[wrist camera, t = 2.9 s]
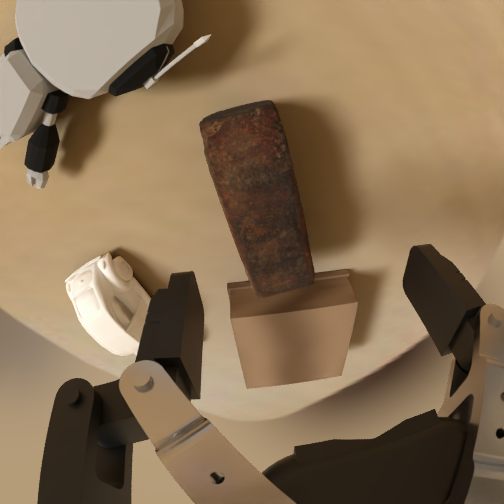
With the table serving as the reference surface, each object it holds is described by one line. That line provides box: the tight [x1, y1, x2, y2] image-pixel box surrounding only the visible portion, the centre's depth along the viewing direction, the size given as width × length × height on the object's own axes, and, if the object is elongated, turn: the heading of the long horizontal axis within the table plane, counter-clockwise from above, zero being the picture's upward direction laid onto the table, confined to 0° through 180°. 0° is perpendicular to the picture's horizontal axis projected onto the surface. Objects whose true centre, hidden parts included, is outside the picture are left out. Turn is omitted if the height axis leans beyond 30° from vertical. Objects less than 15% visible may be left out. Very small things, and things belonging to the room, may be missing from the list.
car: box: [65, 252, 151, 356], centre depth 22 cm, size 12×6×5 cm, turn 28°
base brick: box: [227, 269, 358, 389], centre depth 24 cm, size 9×10×4 cm
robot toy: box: [0, 0, 211, 189], centre depth 11 cm, size 12×4×15 cm
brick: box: [199, 100, 315, 298], centre depth 17 cm, size 11×4×5 cm, turn 15°
